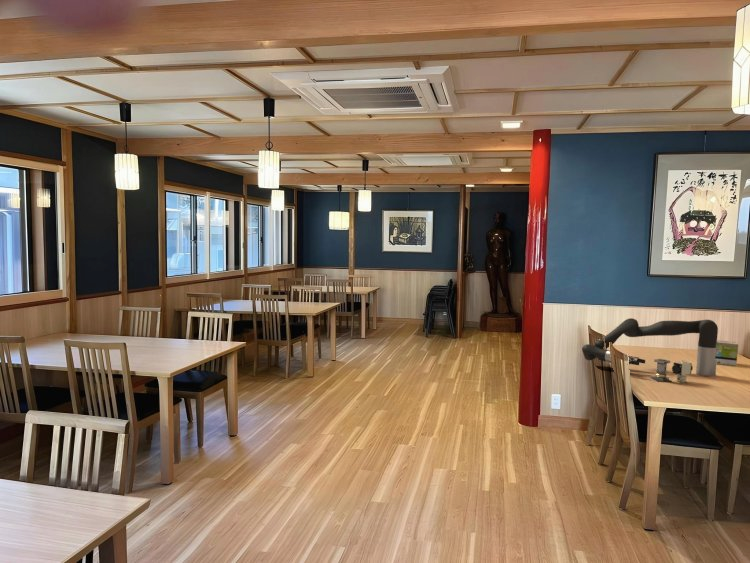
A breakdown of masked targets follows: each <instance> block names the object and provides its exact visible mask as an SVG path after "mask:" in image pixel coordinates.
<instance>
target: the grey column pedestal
mask: <svg viewBox="0 0 750 563" xmlns="http://www.w3.org/2000/svg"><path fill="white" fill-rule="evenodd" d="M653 362H654V363H657V364H656V372H655V375H653V376H652V377H653V379H657V380H661V381H665V380H670V377H668V376H667V375H668V374H667V369H668V368H667V366H668V364H670V363H671V360H668V359H663V358H657V359H653ZM653 379H652V380H653Z"/></svg>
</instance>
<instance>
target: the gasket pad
mask: <svg viewBox="0 0 750 563" xmlns="http://www.w3.org/2000/svg"><path fill="white" fill-rule="evenodd" d="M650 379H651V380H653V381H655V380H656V381H655V382H657V383H658V382H661V383H662V382H663V383H672V382H673V381H672V380H670V379H669V380H665V381H661V380H657V379H653V376H652V377H651V376H650Z"/></svg>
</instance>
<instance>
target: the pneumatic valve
mask: <svg viewBox="0 0 750 563" xmlns="http://www.w3.org/2000/svg"><path fill="white" fill-rule="evenodd" d="M693 368H694V367H693V363H692V362H689V361H688V362H687V361H684V360H682V361H677V362H673V365H672V366H671V371H672V374H674V375H677V376H676V377H677V378H676V382H679V383H686V382H687V375H692V372H693Z"/></svg>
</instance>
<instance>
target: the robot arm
mask: <svg viewBox="0 0 750 563" xmlns="http://www.w3.org/2000/svg"><path fill="white" fill-rule="evenodd" d="M718 333H719V327H718V325H717V323H716V322H715V321H714V320H711V319H702V320H690V321H689V320H688V321H687V320H660V321H657V322H655V323H652V324H650V325H646V326H640V325H639V322H638V320H637V319H635V318H626V319H625V320H623V321H622V322H621V323H619V325H617V326H616V327H615V328H614V329H613V330H611V331H610V332H609V333H608V334H605V343H606V349H605V350H604V349H603V347H604V341H603V340H602V339H601V338H600V339H598V340H596V341H595V342H594V344H587V343H586V344H584V345H582V347H581V352H582V354H583V357H584V359H585V360H586V361H593V360H595V359H597V360H599V361H601V362H607V363H610V364H612V363H611V357H610V351H611V350H608V348H610V347H609V342H612V344H613V345H614V344H615V343H616V342H617V340H618V339H619V338H620V337H621V336H623V335H625V336H626V337H628V338H638V337H651V336H652V337H653V336H654V337H658V336H665V337H666V336H667V337H668V336H669V337H670V336H672V337H673V336H680V335H687V334H698V342H697V353H696V354H697V356H696V369H695V374H696V375H698V376H702V377H703V376H704V377H716V375H717V374H716V373H717V364H716V362H717V361H716V360H715V353H716V344H717V340H718ZM627 356H628V357H629V365H634V366H635V365H636V366H640V364H646V359H642V358H640V357H637V356H632V355H627Z"/></svg>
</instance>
